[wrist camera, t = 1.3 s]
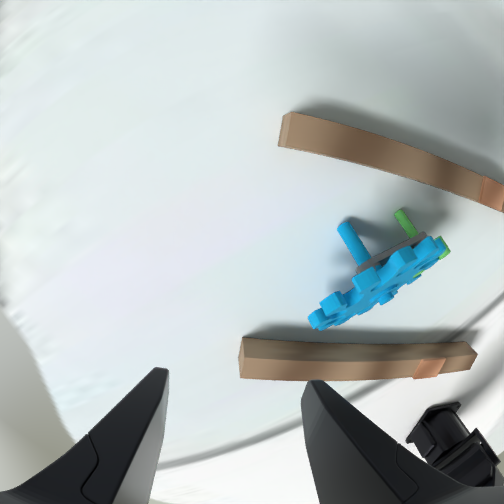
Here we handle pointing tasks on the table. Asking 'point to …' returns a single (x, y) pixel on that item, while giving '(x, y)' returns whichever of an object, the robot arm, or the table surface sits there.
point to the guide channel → (367, 355)
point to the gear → (378, 273)
